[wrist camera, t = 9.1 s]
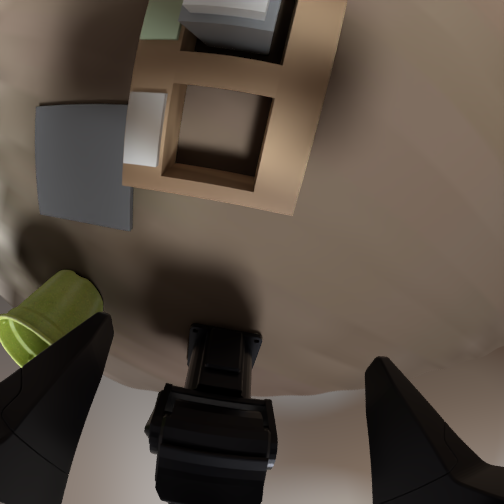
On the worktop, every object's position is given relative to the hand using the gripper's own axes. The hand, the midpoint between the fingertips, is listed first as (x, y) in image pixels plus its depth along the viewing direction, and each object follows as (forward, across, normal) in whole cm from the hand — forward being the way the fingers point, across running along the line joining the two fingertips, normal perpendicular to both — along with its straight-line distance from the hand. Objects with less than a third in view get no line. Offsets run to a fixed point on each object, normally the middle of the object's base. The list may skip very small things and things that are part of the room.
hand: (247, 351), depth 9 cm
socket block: (+12, +3, -8) cm, 15 cm away
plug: (+12, +3, -12) cm, 17 cm away
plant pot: (+12, +15, +12) cm, 23 cm away
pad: (+12, +13, -1) cm, 18 cm away
